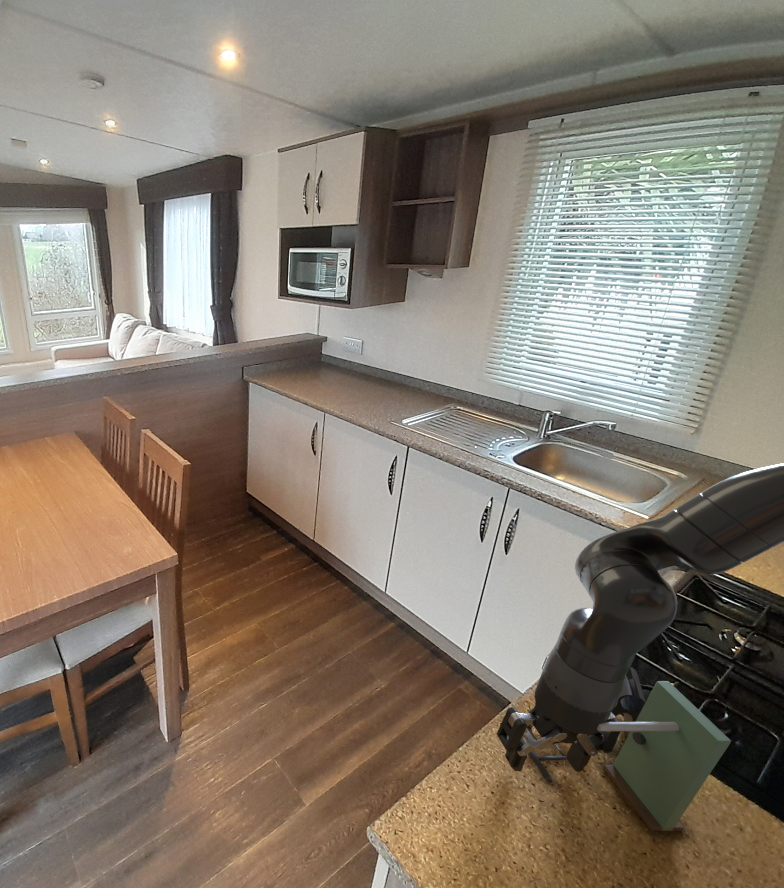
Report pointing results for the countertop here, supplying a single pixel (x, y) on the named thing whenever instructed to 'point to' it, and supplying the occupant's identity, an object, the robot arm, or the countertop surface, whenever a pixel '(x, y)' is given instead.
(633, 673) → the phone stand
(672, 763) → the door panel
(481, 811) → the countertop surface
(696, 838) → the countertop surface
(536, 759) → the hanger
